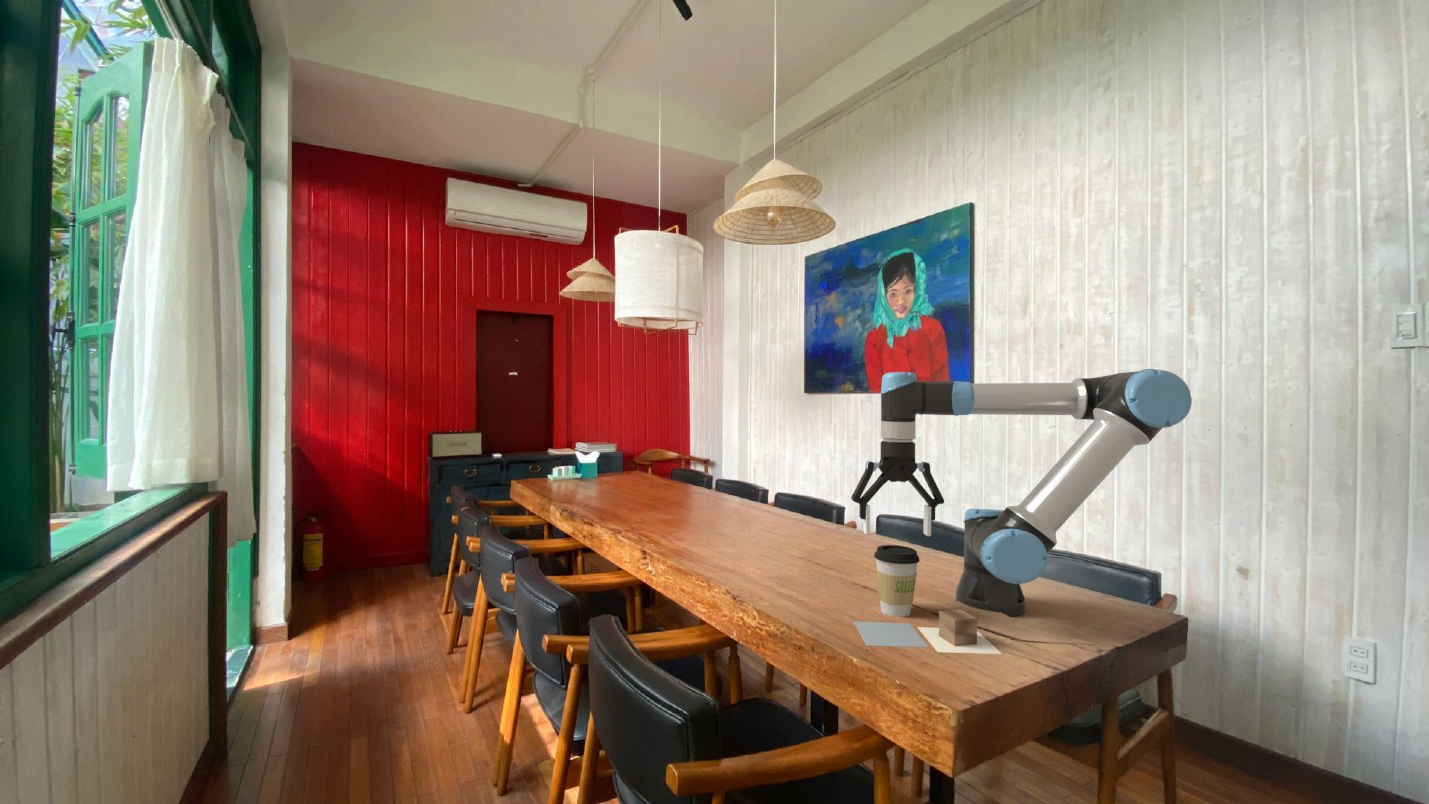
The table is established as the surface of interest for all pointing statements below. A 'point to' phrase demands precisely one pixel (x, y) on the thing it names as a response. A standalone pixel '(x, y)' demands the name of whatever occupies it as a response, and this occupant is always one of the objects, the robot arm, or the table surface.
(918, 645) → the pad
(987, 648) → the pad
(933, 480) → the robot arm
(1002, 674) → the table surface
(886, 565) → the coffee cup
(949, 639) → the walnut block
